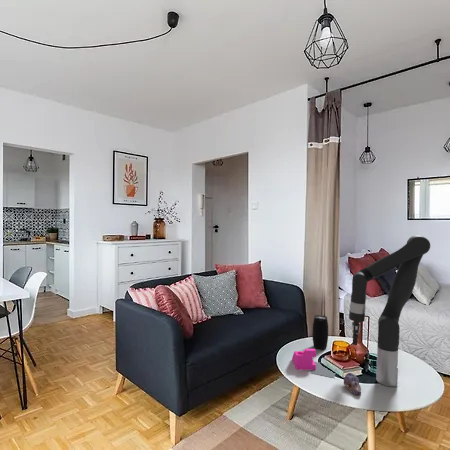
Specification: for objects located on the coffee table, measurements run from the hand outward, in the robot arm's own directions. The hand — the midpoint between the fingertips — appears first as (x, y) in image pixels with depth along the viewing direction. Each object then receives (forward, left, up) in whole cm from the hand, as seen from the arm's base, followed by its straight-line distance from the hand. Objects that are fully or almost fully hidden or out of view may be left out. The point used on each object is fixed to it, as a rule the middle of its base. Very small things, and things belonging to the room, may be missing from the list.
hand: (354, 341), depth 165 cm
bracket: (+26, 0, -18) cm, 31 cm away
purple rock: (0, +15, -18) cm, 24 cm away
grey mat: (+15, +1, -18) cm, 23 cm away
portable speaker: (+21, -28, -18) cm, 39 cm away
